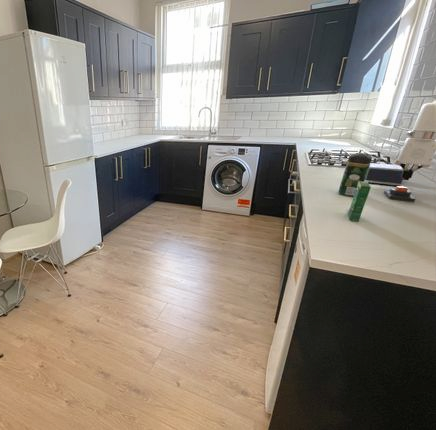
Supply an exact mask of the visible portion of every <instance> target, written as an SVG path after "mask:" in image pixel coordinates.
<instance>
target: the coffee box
mask: <svg viewBox="0 0 436 430" xmlns="http://www.w3.org/2000/svg"><path fill="white" fill-rule="evenodd" d="M368 182H369V181H365V182H362V181H359V182H358V185H357V188H356V191H355V194H354V196H352V201H351V204H350V207H349V210H348V213H347V215H349V216H348V220H349V221H350V220H353V221H352V222H356V221H358V222H360V219H361V217H362V213H363V211H364V207H365V204H366V202H367V199H368V197H369V193H370V191H371V188H372V186H371V184H368Z"/></svg>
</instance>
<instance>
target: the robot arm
mask: <svg viewBox="0 0 436 430" xmlns="http://www.w3.org/2000/svg"><path fill="white" fill-rule="evenodd" d="M416 117H417V118H416V120H415V122H414V125H413V127H412V130H410V131H406V133H405V136H408V137H407V138H406V139H405V140H404V142H403V143H402V145H401V146H400V149H399V151H398V153H397V155H396V158H395V160H394V162H393V165H399V166H401V167H402V168H403V172H402V174H401V177H402V179H403V181H410V179H412V177H413V174H414V173H415V172H416V171H417V170H420V169H425V168H429V167H430V165H431V164H432V163H433V160H434V158H435V155H436V99H435V100H434V101H432V102H428V103H427V102H426V103H424V104H422V106H421V107H420V110H419V112H418V115H417V116H416ZM410 165H411V166H410Z"/></svg>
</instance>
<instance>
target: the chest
mask: <svg viewBox="0 0 436 430" xmlns="http://www.w3.org/2000/svg"><path fill="white" fill-rule="evenodd" d="M402 172H403V171H394V170H382V169H370V168H369V169H368V172H367V175H366V178H365V181H364V182H366V181H367V182H368V184H369V185H374V186H382V187H383V186H384V187H390V188H391V187H392V188H396V187H397V186H402V183H403V182H404V180H403V179H402V177H401V174H402Z"/></svg>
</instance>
